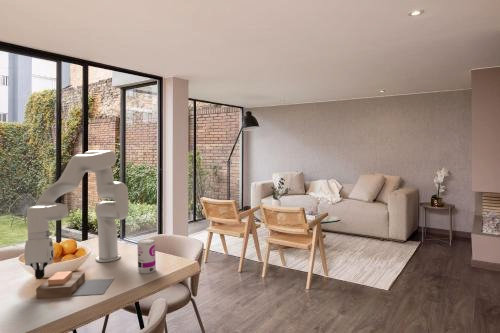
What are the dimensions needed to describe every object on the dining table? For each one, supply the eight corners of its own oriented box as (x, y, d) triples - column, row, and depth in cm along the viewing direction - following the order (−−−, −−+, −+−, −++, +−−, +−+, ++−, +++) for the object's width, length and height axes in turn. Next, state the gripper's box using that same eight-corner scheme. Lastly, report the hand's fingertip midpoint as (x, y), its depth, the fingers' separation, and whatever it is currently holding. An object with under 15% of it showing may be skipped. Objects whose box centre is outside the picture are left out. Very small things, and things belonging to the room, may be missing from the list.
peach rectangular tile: (57, 276, 144) (57, 271, 144) (72, 275, 145) (72, 271, 145) (48, 284, 136) (48, 280, 135) (63, 283, 136) (63, 279, 136)
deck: (54, 282, 148) (54, 273, 147) (85, 280, 150) (84, 272, 149) (36, 298, 132) (36, 288, 132) (70, 296, 134) (70, 286, 133)
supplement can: (158, 268, 164) (158, 239, 163) (149, 275, 156) (148, 243, 155) (144, 267, 166) (143, 238, 165) (134, 273, 158) (133, 242, 157)
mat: (86, 280, 150) (86, 280, 150) (113, 279, 151) (113, 278, 151) (72, 296, 134) (72, 295, 134) (103, 294, 135) (103, 293, 135)
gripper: (61, 232, 143) (62, 273, 144) (24, 233, 141) (25, 275, 142) (53, 236, 135) (54, 280, 136) (14, 238, 133) (15, 282, 134)
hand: (39, 278), depth 139 cm, fingers closed
